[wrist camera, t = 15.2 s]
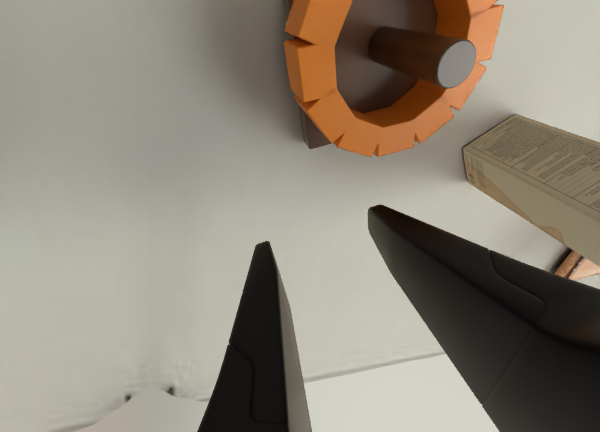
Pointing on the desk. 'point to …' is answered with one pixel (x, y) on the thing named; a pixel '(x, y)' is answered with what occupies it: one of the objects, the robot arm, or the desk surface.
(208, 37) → the desk surface
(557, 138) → the box
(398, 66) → the brown peg stand
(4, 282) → the desk surface
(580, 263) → the case
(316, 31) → the orange ring
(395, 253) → the robot arm
